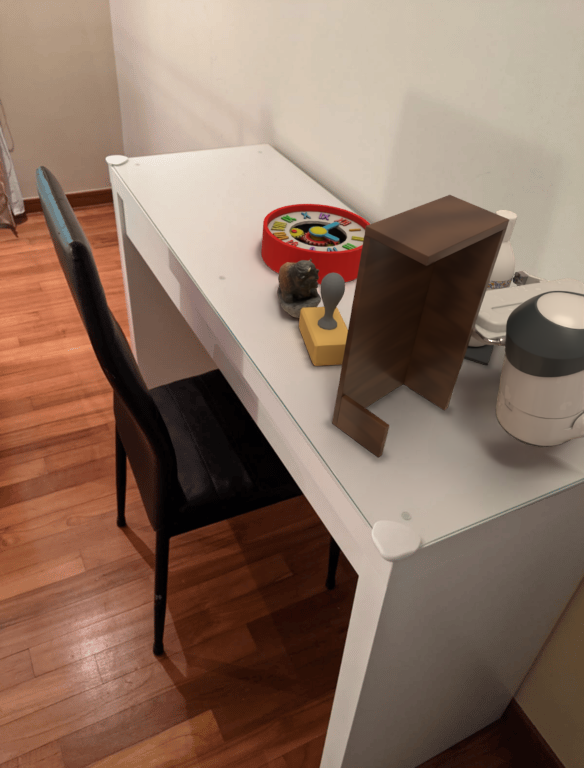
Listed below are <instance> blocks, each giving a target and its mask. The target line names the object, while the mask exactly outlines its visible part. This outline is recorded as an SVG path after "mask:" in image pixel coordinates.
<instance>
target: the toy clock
mask: <svg viewBox="0 0 584 768" xmlns="http://www.w3.org/2000/svg"><path fill="white" fill-rule="evenodd" d="M370 224H371V223H370V222H369V221H368V220H367V219H365V217H362V216H361V215H359V214H357V213H355V212H353V211H350V210H347V209H344V208H342V207H341V208H340V207H337V206H332V205H328V204H319V203H296V204H288V205H284V206H281V207H277V208H276V209H273V210H271V211H270V212H268V213H267V214H266V216H264V217H263V222H262V233H261V234H262V236H261V249H260V250H261V251H260V252H261V259H262V261H263V262H264V264H265V265H266V266H267V267H268V268H269V269H270V270H272V271H273V272H275V273H277V274H278V275H279V271H280V268H281V266H282V265H283V264H285V263H287V262H290V263H297V262H299V261H301V260H307V261H309V260H310V259H312V261H311V262H312V263H313V264H314V265H315V268H316V269H318V270H319V273H318V276H319V279H318V280H317V282H318V285H321V282H322V279H323V278H324V277H325V276H326V275H327V274H329V273H338V274H339V275H341V276H342V277H343V279H344V281H345V283H348V282H351V281H355V280H357V275H358V269H359V263H360V257H361V252H362V246H363V240H364V235H365V229H366V226H367V225H370Z"/></svg>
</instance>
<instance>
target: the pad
mask: <svg viewBox="0 0 584 768" xmlns="http://www.w3.org/2000/svg"><path fill="white" fill-rule="evenodd" d="M494 347H495V345H487V344H486V345H484V346H479V347H472V346H468V348H467V351H466V354H465V357H464V359H466V360H469V361H473V362H476V363H479V364H482V365H485V366H488V364H489V361H490V358H491V356H492V353H493V350H494Z"/></svg>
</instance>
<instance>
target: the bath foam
mask: <svg viewBox="0 0 584 768" xmlns="http://www.w3.org/2000/svg"><path fill="white" fill-rule="evenodd" d="M494 213H495V214H497V215H500V216H502V217H505V218H507V219H509V223H508V226H507V229H506V232H505V235H504V238H503V241H502V244H501V248H500V251H499V254H498V257H497V260H496V263H495V266H494V269H493V272H492V275H491V278H490V281H489V284H488V287H487V290H486V291H489V290H495V289H502V288H508V287H511V284H512V282H513V277H514V274H515V270H516V258H515V253H514V250H513V246H512V243H511V238H512V235H513V232H514V229H515V226H516V224H517V223H516V222H517V220H518V215H517V213H515V212H514V211H512V210H511V211H510V210H507V209H499V210H497V211H495V212H494ZM484 345H486V344H484V343H481V342H480V341H478V340H476V339H475V338H473V337H472V336H471V338H470V342H469V345H468V346H472V347H479V346H484Z"/></svg>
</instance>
